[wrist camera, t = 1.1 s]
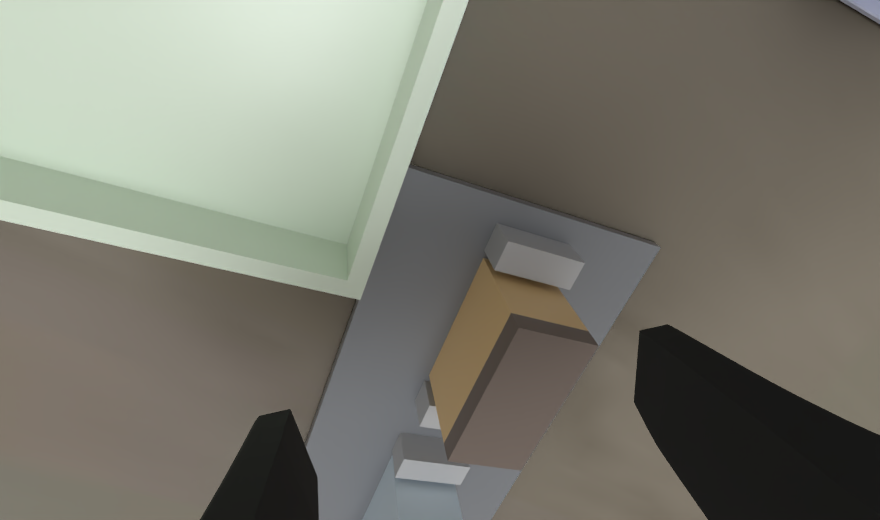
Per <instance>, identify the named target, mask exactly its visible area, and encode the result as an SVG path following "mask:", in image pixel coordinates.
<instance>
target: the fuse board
mask: <svg viewBox="0 0 880 520" xmlns="http://www.w3.org/2000/svg"><path fill="white" fill-rule="evenodd" d="M660 248H661V247H660V246H658V245H657V244H656V243H655V242H653V241H649V240H646V239H643V238H640V237H637V236H634V235H631V234H628V233H624V232H621V231H618V230H615V229H612V228H609V227H606V226H603V225H599V224H596V223H593V222H590V221H587V220H584V219H581V218H577V217H574V216H571V215H568V214H565V213H562V212H559V211H556V210H552V209H549V208H546V207H543V206H540V205H537V204H534V203H531V202H527V201H524V200H521V199H518V198H515V197H512V196H509V195H506V194H502V193H499V192H496V191H493V190H490V189H487V188H484V187H481V186H477V185H474V184H471V183H468V182H465V181H462V180H459V179H455V178H452V177H449V176H446V175H443V174H440V173H437V172H434V171H430V170H427V169H424V168H421V167H418V166H415V165H412V164H409V167H408V170H407V172H406V175H405V178H404V181H403V183H402V186H401V189H400V192H399V194H398V197H397V200H396V203H395V205H394V208H393V211H392V214H391V217H390V219H389V222H388V225H387V228H386V230H385V233H384V236H383V239H382V241H381V244H380V247H379V250H378V253H377V255H376V258H375V261H374V264H373V266H372V269H371V272H370V275H369V277H368V280H367V283H366V286H365V289H364V291H363V294H362V297H361V300H358V299H356V302H355V305H354V308H353V311H352V313H351V316H350V319H349V322H348V325H347V327H346V330H345V333H344V336H343V339H342V341H341V344H340V347H339V350H338V353H337V355H336V358H335V361H334V364H333V367H332V369H331V372H330V375H329V378H328V381H327V383H326V386H325V389H324V392H323V395H322V397H321V400H320V403H319V406H318V409H317V411H316V414H315V417H314V420H313V423H312V425H311V428H310V431H309V434H308V437H307V439H306V442H305V447H306V449H307V452H308V454H309V457H310V459H311V462H312V464H313V467H314V469H315V472H316V474H317V477H318V505H319V520H362V519H363V517H364V515H365V513H366V510H367V508H368V506H369V504H370V502H371V500H372V497H373V495H374V493H375V491H376V489H377V487H378V485H379V482H380V480H381V478H382V476H383V474H384V472H385V469H386V467H387V465H388V463H389V461H390V459H391V456H392V455H393V464H394V473H395V478H402V479H411V480H420V481H429V482H438V483H447V484H455V486H456V491H457V495H458V500H459V504H460V509H461V513H462V518H463V520H491V519H492V517H493V516H494V514H495V512H496V511H497V509H498V508H499V506H500V504H501V503H502V501H503V500H504V498H505V496H506V495H507V493H508V492H509V490H510V488H511V487H512V485H513V484H514V482H515V480H516V479H517V477H518V476H519V474H520V472H521V471H522V470H521V471H520V470H512V469H504V468H496V467H488V466H481V465H473V464H465V463H457V462H449V461H448V460H447V456H446V451H445V447H444V442H443V437H442V433H441V428H440V424H439V419H438V414H437V410H436V405H435V401H434V396H433V392H432V387H431V382H430V378H429V374H430V372H431V370H432V368H433V366H434V363H435V361H436V359H437V357H438V355H439V353H440V351H441V348H442V346H443V344H444V342H445V340H446V338H447V335H448V333H449V331H450V329H451V327H452V325H453V322H454V320H455V318H456V316H457V314H458V312H459V309H460V307H461V305H462V303H463V301H464V299H465V297H466V294H467V292H468V290H469V288H470V286H471V284H472V281H473V279H474V277H475V275H476V273H477V271H478V268H479V266H480V264H481V262H482V260H483V258H486V259H489V261H490V263H491V265H492V267H493V269H494V270H495V271H499V272H503V273H507V274H511V275H514V276H518V277H522V278H526V279H530V280H533V281H537V282H541V283H545V284H548V285H552V286H556V287H558V288H559V290H560V291H561V293H562V294H563V295H564V297H565V298H566V300H567V301H568V303H569V304H570V305H571V307H572V308H573V310H574V311H575V313H576V314H577V315H578V317H579V318H580V320H581V321H582V323H583V324H584V325H585V327H586V328H587V330H588V331H589V333H590V334H591V335H592V337H593V338H594V340H595V341H596V343H597V344H598V345H599V346H600V344H601V343H602V341H603V339H604V338H605V336H606V334H607V333H608V331H609V330H610V328H611V326H612V325H613V323H614V322H615V320H616V318H617V317H618V315H619V314H620V312H621V310H622V309H623V307H624V306H625V304H626V302H627V301H628V299H629V298H630V296H631V294H632V293H633V291H634V290H635V288H636V286H637V285H638V283H639V282H640V280H641V278H642V277H643V275H644V274H645V272H646V270H647V269H648V267H649V266H650V264H651V262H652V261H653V259H654V258H655V256H656V254H657V253H658V251H659V250H660ZM597 349H598V348H597ZM596 351H597V350H596ZM594 354H595V353H594ZM592 357H593V356H592ZM591 359H592V358H591ZM589 362H590V361H589ZM587 365H588V364H587ZM586 367H587V366H586ZM584 370H585V369H584ZM582 373H583V372H582ZM581 375H582V374H581ZM579 378H580V377H579ZM577 381H578V380H577ZM576 383H577V382H576ZM574 386H575V385H574ZM572 389H573V388H572ZM571 391H572V390H571ZM569 394H570V393H569ZM567 397H568V396H567ZM566 399H567V398H566ZM564 402H565V401H564ZM562 405H563V404H562ZM561 407H562V406H561ZM559 410H560V409H559ZM557 413H558V412H557ZM556 415H557V414H556ZM554 418H555V417H554ZM552 421H553V420H552ZM551 423H552V422H551ZM549 426H550V425H549ZM546 431H547V430H546ZM544 434H545V433H544ZM541 439H542V438H541ZM539 442H540V441H539ZM536 447H537V446H536ZM534 450H535V449H534ZM533 452H534V451H533ZM531 455H532V454H531ZM529 458H530V457H529ZM528 460H529V459H528ZM526 463H527V462H526ZM524 466H525V465H524ZM523 468H524V467H523Z"/></svg>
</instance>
